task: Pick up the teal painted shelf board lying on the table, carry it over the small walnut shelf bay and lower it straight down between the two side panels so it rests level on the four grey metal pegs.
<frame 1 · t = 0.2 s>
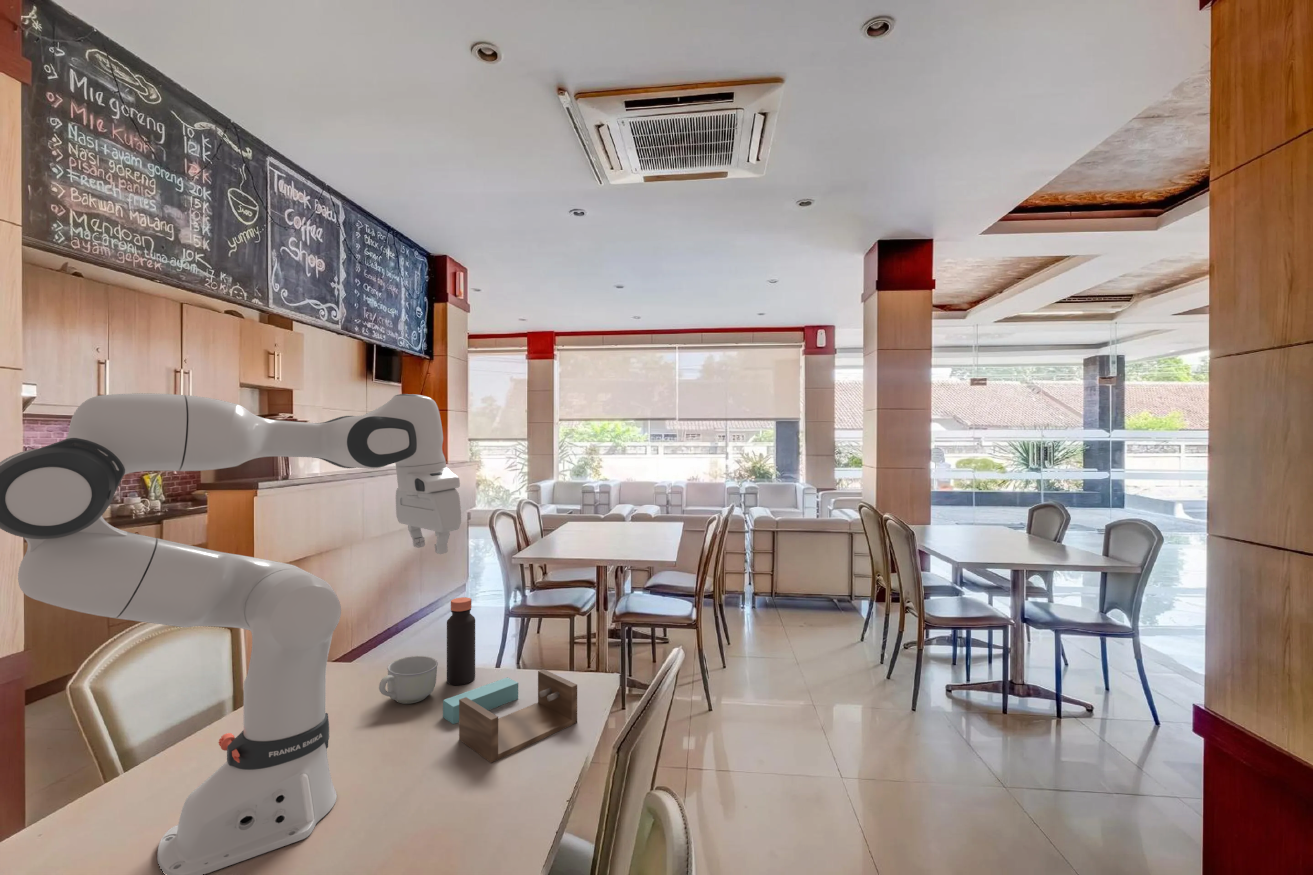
hand: (430, 549, 108), 39 cm above the table, tool pointing down, fingers open, 8 cm apart
shelf bay: (519, 730, 115), on the table
shelf board: (481, 708, 126), on the table
teacup: (406, 701, 129), on the table
bottle: (461, 680, 140), on the table
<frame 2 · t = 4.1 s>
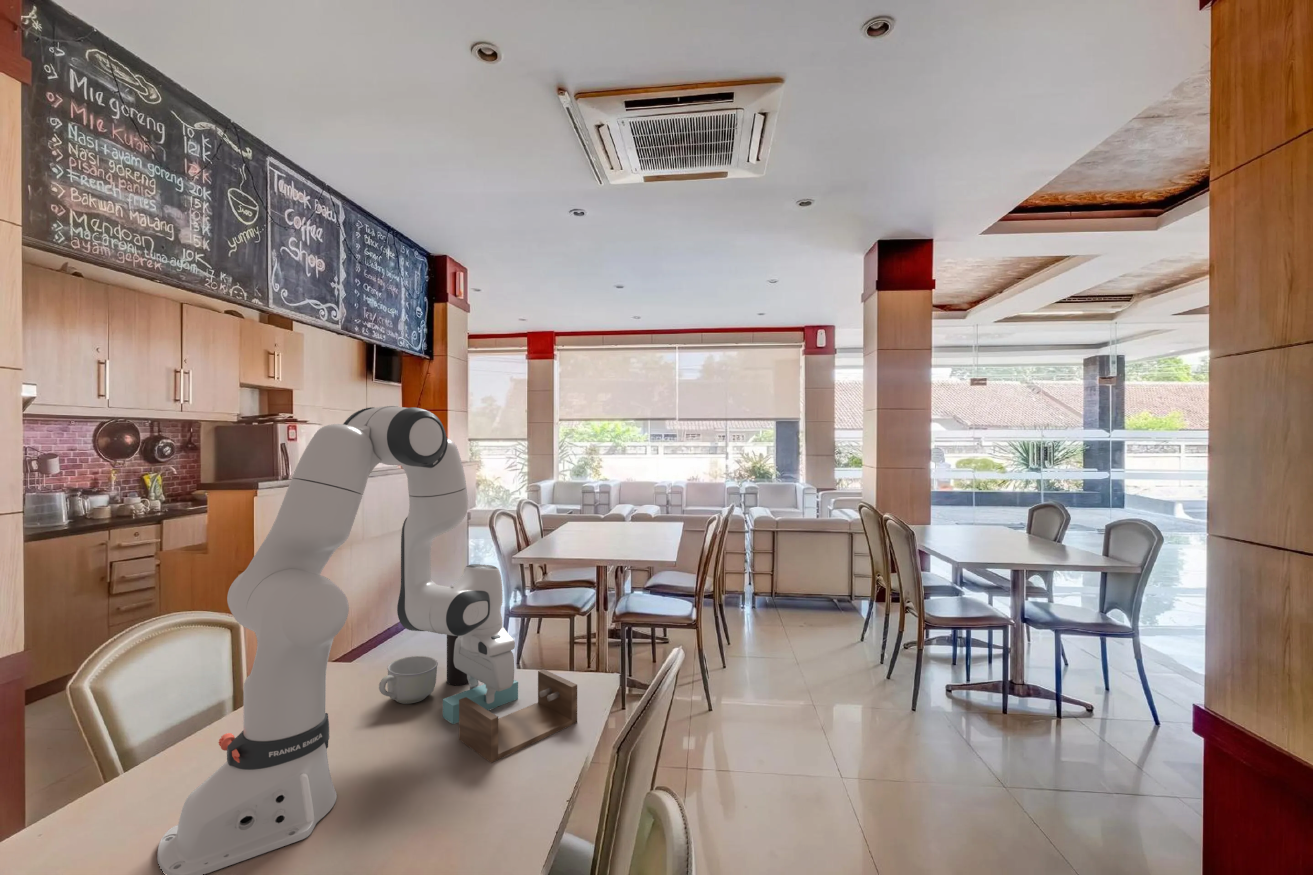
hand: (482, 697, 126), 2 cm above the table, tool pointing down, fingers closed on shelf board, 4 cm apart
shelf board: (481, 707, 126), on the table, touching gripper
everything else where it was.
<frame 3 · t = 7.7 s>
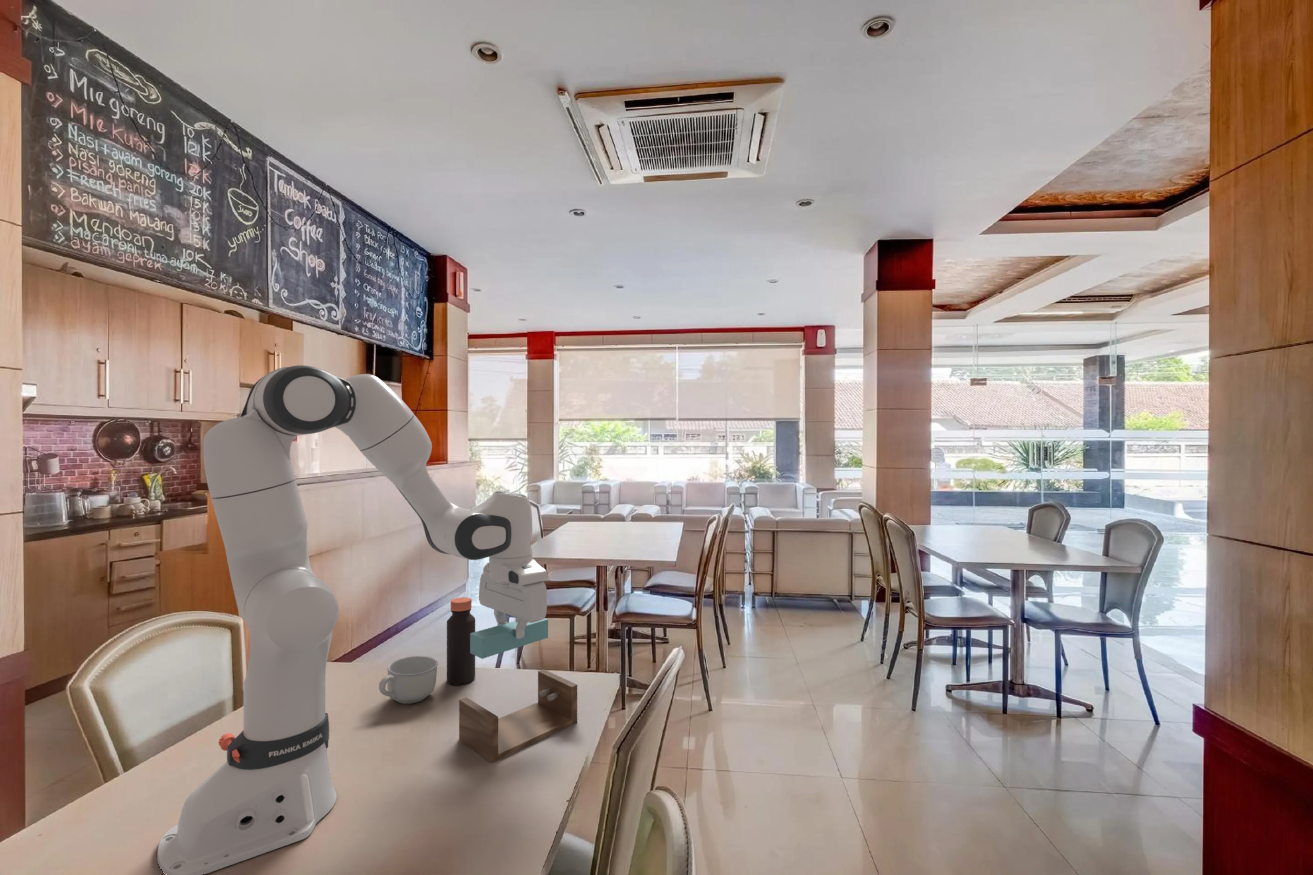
hand: (510, 634, 118), 19 cm above the table, tool pointing down, fingers closed on shelf board, 4 cm apart
shelf board: (510, 645, 118), point 17 cm above the table, touching gripper
everything else where it was.
when the fingers open (9 cm above the table, at t = 10.6 s): shelf board stays where it is, resting on shelf bay.
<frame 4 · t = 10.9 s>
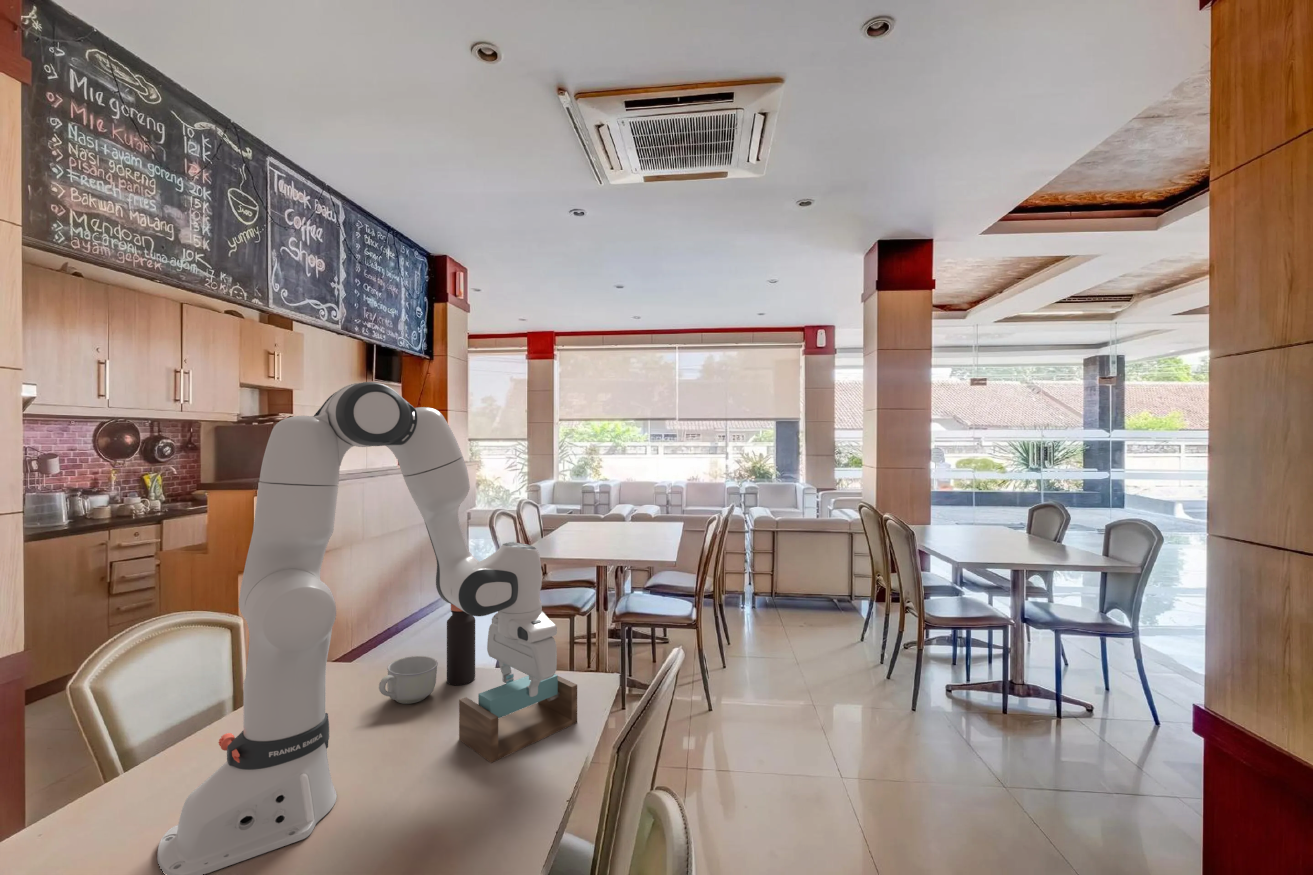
hand: (519, 688, 116), 9 cm above the table, tool pointing down, fingers open, 7 cm apart
shelf board: (519, 703, 115), point 6 cm above the table, touching shelf bay
everything else where it was.
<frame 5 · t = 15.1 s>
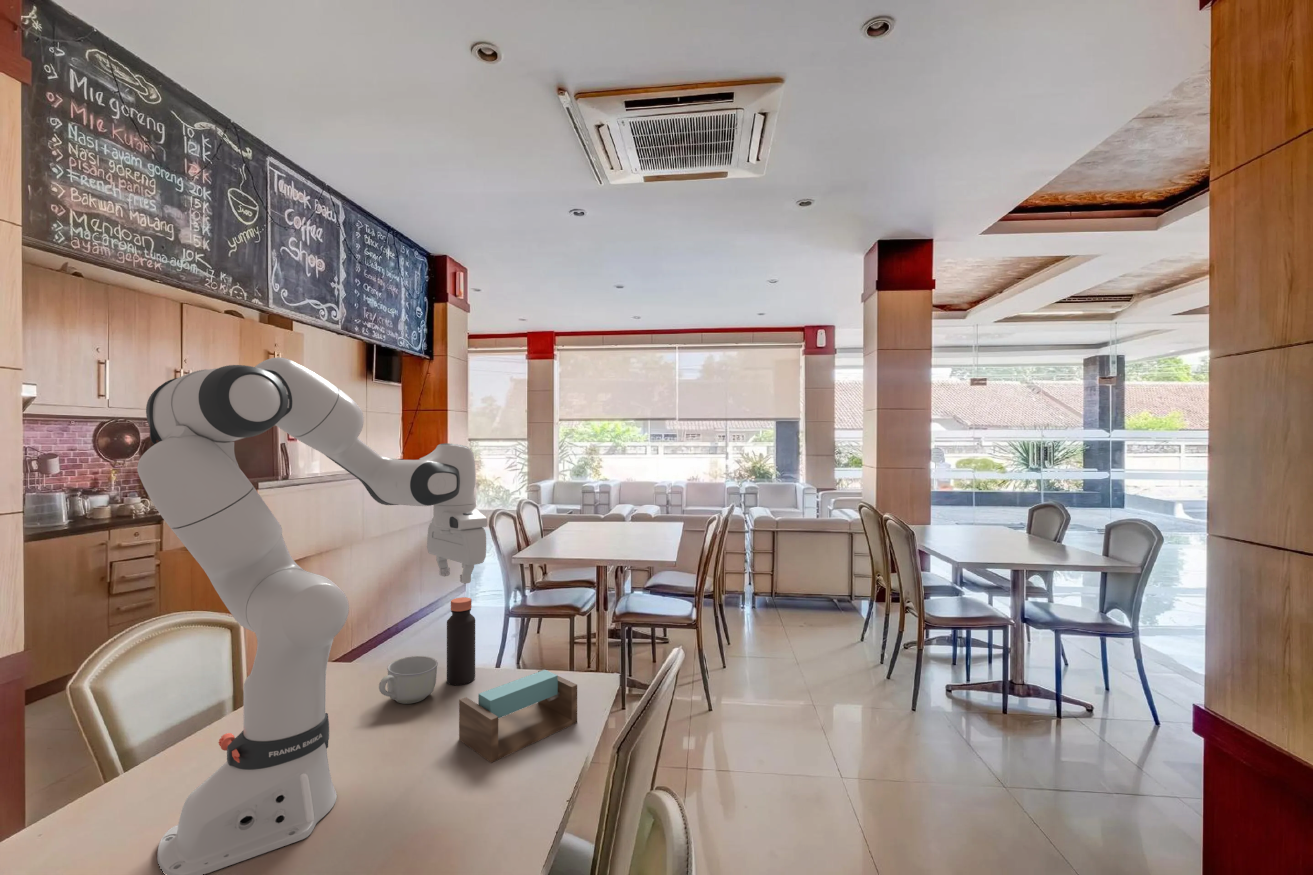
hand: (454, 579, 124), 29 cm above the table, tool pointing down, fingers open, 8 cm apart
nothing on the table moved.
at the end: shelf board 0.1 cm off-centre on the shelf bay, point 5.6 cm above the shelf bay's base; shelf board tilted 0°; the gripper is holding nothing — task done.
